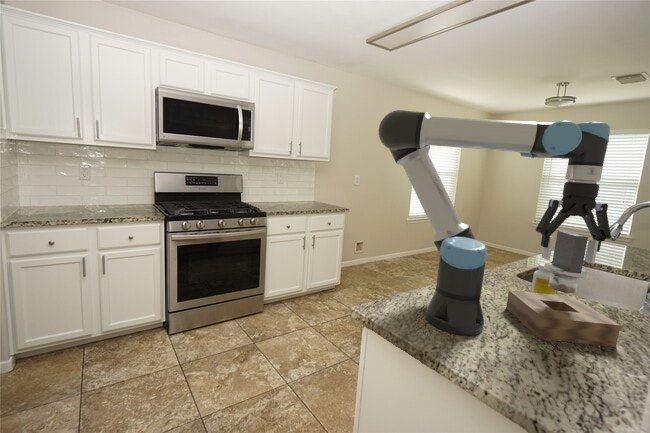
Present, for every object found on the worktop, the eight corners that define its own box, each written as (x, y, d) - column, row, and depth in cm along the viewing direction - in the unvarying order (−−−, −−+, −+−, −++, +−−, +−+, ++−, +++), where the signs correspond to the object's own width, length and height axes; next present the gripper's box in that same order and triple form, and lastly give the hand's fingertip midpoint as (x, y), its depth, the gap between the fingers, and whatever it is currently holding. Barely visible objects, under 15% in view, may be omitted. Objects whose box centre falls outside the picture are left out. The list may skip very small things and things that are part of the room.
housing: (538, 338, 85) (542, 317, 84) (506, 308, 104) (509, 290, 103) (615, 347, 84) (620, 325, 83) (568, 314, 102) (572, 296, 101)
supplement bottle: (556, 306, 108) (562, 269, 106) (534, 303, 109) (540, 267, 107) (546, 299, 115) (553, 264, 113) (526, 296, 116) (532, 261, 114)
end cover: (553, 293, 88) (564, 235, 85) (534, 281, 98) (543, 228, 95) (593, 297, 87) (605, 239, 84) (569, 284, 97) (579, 231, 94)
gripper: (544, 179, 85) (530, 260, 88) (640, 185, 83) (622, 268, 86) (529, 178, 92) (517, 253, 96) (617, 184, 90) (601, 260, 93)
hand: (567, 260), depth 91 cm, fingers open, 11 cm apart
